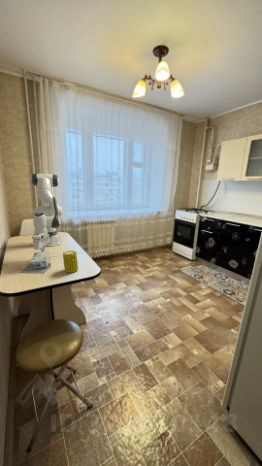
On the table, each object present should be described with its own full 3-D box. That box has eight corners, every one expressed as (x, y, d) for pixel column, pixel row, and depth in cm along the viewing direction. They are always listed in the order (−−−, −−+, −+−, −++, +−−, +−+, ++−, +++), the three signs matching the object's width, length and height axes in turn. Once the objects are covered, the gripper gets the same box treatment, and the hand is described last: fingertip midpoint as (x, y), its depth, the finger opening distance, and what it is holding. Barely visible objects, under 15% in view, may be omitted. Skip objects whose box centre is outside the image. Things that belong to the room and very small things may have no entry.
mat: (27, 265, 146) (27, 265, 146) (51, 266, 146) (51, 265, 145) (18, 272, 134) (18, 272, 134) (44, 273, 134) (44, 273, 134)
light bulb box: (36, 259, 149) (32, 268, 140) (34, 252, 145) (30, 261, 137) (50, 258, 151) (48, 267, 142) (48, 251, 147) (46, 260, 138)
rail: (30, 264, 148) (29, 262, 147) (50, 265, 147) (50, 262, 147) (28, 265, 146) (28, 263, 145) (49, 266, 146) (49, 263, 145)
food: (69, 276, 134) (63, 272, 141) (84, 268, 141) (77, 264, 148) (62, 257, 128) (56, 254, 135) (78, 249, 135) (71, 247, 142)
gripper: (43, 231, 158) (44, 247, 161) (30, 237, 138) (32, 255, 141) (50, 231, 158) (52, 247, 161) (39, 237, 138) (41, 256, 141)
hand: (43, 251), depth 151 cm, fingers closed
